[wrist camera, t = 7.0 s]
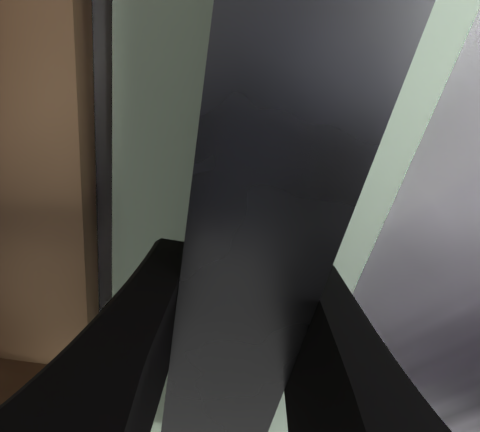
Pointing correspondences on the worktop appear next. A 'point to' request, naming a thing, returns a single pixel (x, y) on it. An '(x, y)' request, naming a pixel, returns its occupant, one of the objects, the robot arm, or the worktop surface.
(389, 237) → the worktop surface
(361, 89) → the rail
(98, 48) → the worktop surface
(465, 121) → the worktop surface
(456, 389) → the worktop surface
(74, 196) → the hook stands
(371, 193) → the mat
